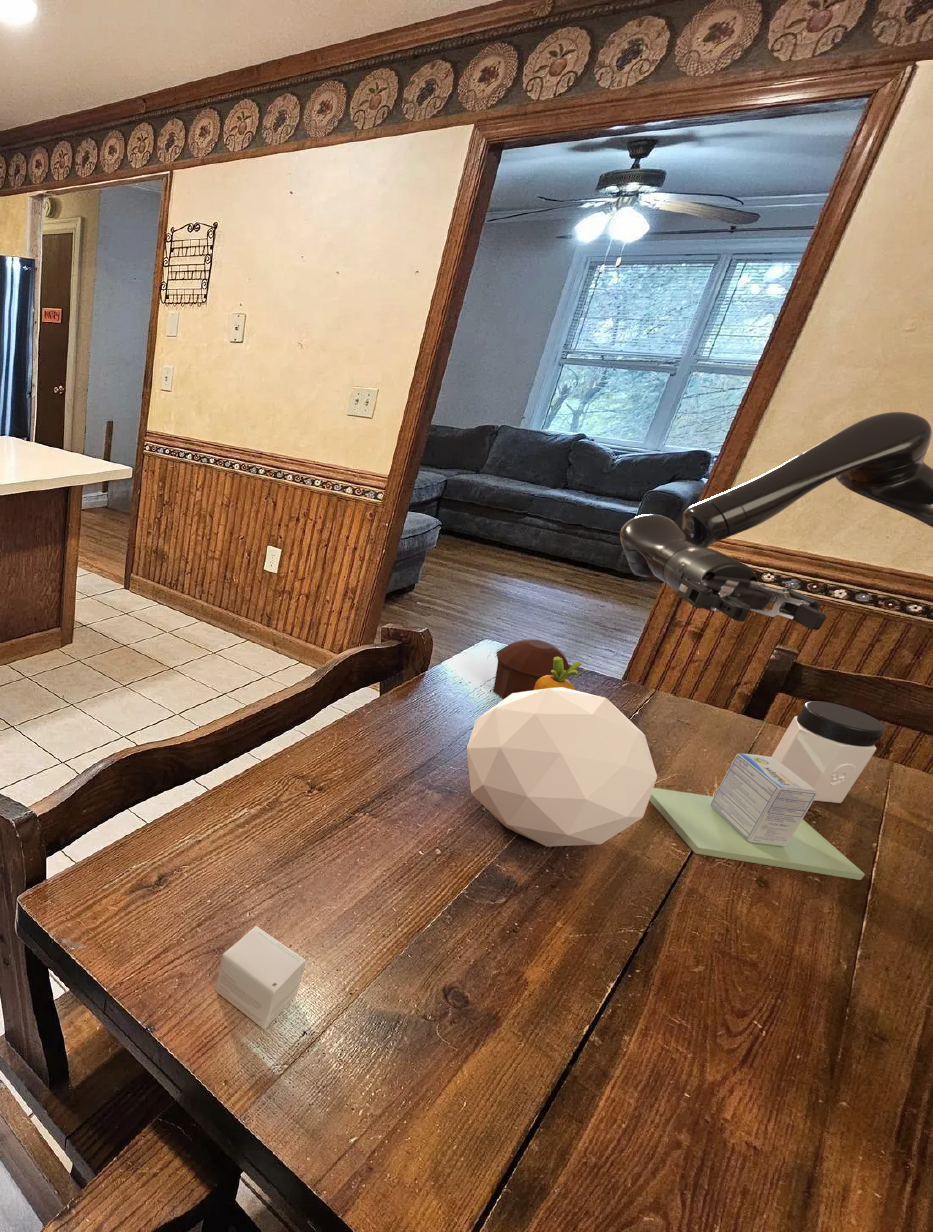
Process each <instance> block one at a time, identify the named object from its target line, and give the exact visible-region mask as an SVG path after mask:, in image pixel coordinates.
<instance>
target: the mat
mask: <svg viewBox="0 0 933 1232" xmlns="http://www.w3.org/2000/svg"><path fill="white" fill-rule="evenodd" d="M713 798H714V796H711V795H705V794H698V793H691V792H685V791H677V790H671V789H665V788H660V787H659V788H658V787H654V788H653V790H652V793H651V796H650V799H649V802H650V803H651V804H652V806H654V808H655V809H656V810H657V811H658V813H660V815H661V816H662V817H663V818H664V819H665V820H666V822H667V823H668V825H670V826H671V827H672V829H673V830H674V831H675V832H676V833H677V835H679V837H680V838H681V839H682V840H683V842H684V843H685V844H686V845H687V846H688V847H689V848H690V850H691V851H692V852H693V853H694V854H696V855H701V856H708V857H714V858H720V859H727V860H734V861H739V862H745V863H751V864H758V865H763V866H764V865H765V866H769V867H770V866H771V867H777V868H781V869H790V870H794V871H802V872H808V873H813V874H818V875H819V874H820V875H826V876H833V877H838V878H844V879H849V880H850V879H851V880H856V881H857V880H858V881H861V880H863V878H864V877H865V875H866V874H865V873H864V872H863V871H862V870H861V869H860V868H859V867H858V866H857V865H855V864H854V863H853V862H852V861H851V860H850V859H848V858H847V857H846V856H845V855H844V854H843V853H842V852H841V851H840V850H838V849H837V848H836V847H835V846H834V845H833V844H832V843H830V841H828V840H827V839H826V838H825V837H823V836H822V835H821V834H820V833H819V832H818V831H817V830H816V829H815V828H813V827H812V826H811V824H809V823H808V822H807V821H805V819H804V818H803V819H802V821H801V823H800V824H799V826H798V828H797V829H796V831H795V833H794V834H793V836H792V838H791V839H790V841H789V843H788V845H787V846H786V847H785V846H783V847H782V846H775V845H766V844H758V843H752V842H749V841H748V840H747V839H746V838H745V837H744V836H743V835H742V834H741V833H739V832H738V831H737V830H736V829H735V828H734V827H733V826H732V825H731V824H730V823H729V822H728V821H727V820H726V819H725V818H724V817H723V816H722V815H720V814H719V813H718V812H717V811H716V810H715V809H714V808H713V807H712V806H711V805H710V804H711V802H712V800H713Z"/></svg>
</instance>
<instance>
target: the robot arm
mask: <svg viewBox="0 0 933 1232" xmlns="http://www.w3.org/2000/svg"><path fill="white" fill-rule="evenodd" d="M932 434H933V431H932V425H931V423H930V422H929V421H928V420H927V419H926V418H925V417H923V416H921V415H918V414H915V413H911V412H904V411H890V412H883V413H880V414H876V415H872V416H868V417H866V418H863V419H862V420H859V421H857V422H855V423H853V424H852V425H849V426H848V427H845V428H844V429H843V430H840V431H839V432H837V433H836V434H833V435H832V436H830V437H829V438H827V439H825V440H823V441H821V442H820V443H818V444H816V445H814V446H813V447H811V448H809V449H807V450H805V451H803V452H802V453H800V454H798V455H796V456H795V457H793V458H791V459H789V460H788V461H786V462H784V463H783V464H781V465H779V466H777V467H775V468H772V469H771V470H769V471H767V472H766V473H763V474H761V475H759V476H758V477H755V478H753V479H751V480H749V481H747V482H744V483H742V484H740V485H738V486H736V487H733V488H731V489H728V490H726V491H724V492H721V493H719V494H716V495H714V496H711V497H710V498H707V499H704V500H702V501H699V502H697V503H695V504H692V505H690V506H689V507H687V508H686V509H685V510H684V511H683V514H682V517H681V519H682V520H681V527H680V526H679V525H678V524H677V523H676V522H675V521H674V520H672V519H671V518H669V517H667V516H664V515H661V514H655V513H653V514H651V513H650V514H641V515H638V516H635V517H633V518H631V519H629V520H628V521H626V522H625V523H624V524H623V526H622V527H621V529H620V531H619V541H620V544H621V546H622V549H623V552H624V555H625V558H626V561H627V563H628V567H629V568H630V570H631V572H632V573H634V575H636V576H639V577H641V578H642V577H643V578H657V579H658V580H660V581H662V582H664V583H665V584H667V585H668V586H670V587H671V588H672V589H673V590H674V591H675V592H676V595H677V597H679V598H681V599H683V600H684V601H685V602H687V603H689V604H690V605H691V606H693V607H694V608H696V609H704V610H706V611H709V612H710V611H711V612H716V613H718V612H719V613H722V614H724V615H726V616H727V617H729V618H731V619H732V620H734V621H735V622H742V623H743V622H745V621H746V619H747V617H748V615H749V614H750V612H753V613H757V614H761V615H764V616H767V617H771V618H775V617H778V616H779V617H783V618H786V619H789V620H792V621H794V622H796V623H798V624H799V625H801V626H803V627H805V628H807V629H809V630H814V631H818V630H820V629H821V628H822V626H823V624H824V623H825V621H826V619H827V615H826V614H825V613H823V612H822V611H820V608H821V606H822V605H823V603H822V602H820V601H818V600H815V599H813V598H811V597H809V596H807V595H806V594H802V593H801V592H798V591H796V590H793V589H792V588H789V587H786V588H785V587H783V588H782V590H780V589H776V588H772V587H769V586H767V585H766V584H765V583H761V582H759V581H758V578H757V575H756V573H755V571H754V570H753V569H752V568H751V567H750V566H749V565H747V564H745V563H743V562H742V561H739V560H737V559H736V558H733V557H731V556H729V555H727V554H725V553H722V552H721V551H719V550H716V549H712V548H710V547H711V546H713V545H714V544H716V543H718V542H720V541H723V540H725V539H728V538H731V537H732V536H736V535H738V534H740V533H743V532H746V531H747V530H750V529H753V528H754V527H757V526H759V525H761V524H763V523H765V522H766V521H768V520H770V519H772V518H774V517H775V516H777V515H778V514H780V513H781V512H783V511H784V510H786V509H787V508H788V507H790V506H791V505H793V504H794V503H796V502H797V501H798V500H800V499H801V498H803V497H804V496H806V495H807V494H809V493H811V492H812V491H813V490H815V489H817V488H818V487H820V486H822V485H823V484H825V483H827V482H829V481H831V480H834V479H835V478H836V480H837V481H838V483H839V484H841V485H842V486H843V487H844V488H846V489H847V490H849V491H851V492H853V493H855V494H858V495H860V496H862V497H864V498H867V499H869V500H871V501H874V502H876V503H878V504H881V505H883V506H885V507H888V508H890V509H893V510H895V511H898V512H901V513H902V514H905V515H907V516H909V517H911V518H913V519H916V520H917V521H920V522H922V523H923V524H925V525H927V526H929V527H930V528H933V467H931V466H929V465H928V464H927V463H926V462H925V461H924V460H925V458H926V455H927V452H928V449H929V448H930V444H931V439H932ZM770 601H771V602H774V603H773V605H772V608H771V609H767V608H766V607H767V606H768V604H769V602H770Z"/></svg>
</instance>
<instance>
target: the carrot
mask: <svg viewBox="0 0 933 1232" xmlns="http://www.w3.org/2000/svg"><path fill="white" fill-rule="evenodd" d="M582 664H583V663H582V662H580V661H576V662H574V663H573V664H572V665H571V666H570V668H569V669H568V670H567V671H566V670H564V665H563V660H562V658H560V657H554V661H553V668H554V670H551V672H552V674H553V676H552V675H545V676H543V677H541V678H540V679H538V680H537V682H536V684H535V686H534V689H533V690H540V689H547V688H559V687H563V688H567V689H571V690H575V691H576V688H575V686H574V684H572V683H571V681H569V680H568V678H569V677H572V676H574V675H578V674H579V671H578V670H577V669H578V668H579V667H580V666H581V665H582Z"/></svg>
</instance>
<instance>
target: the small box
mask: <svg viewBox="0 0 933 1232" xmlns="http://www.w3.org/2000/svg"><path fill="white" fill-rule="evenodd" d="M306 963H307V961H306V959H305V958H304V957H302V956H300V954H297V953H296V952H295V951H293V950H292V949H290V948H289V947H287V946H286V945H284V944H283V943H281V942H280V941H279V940H277V939H276V938H275V937H273V936H272V935H270V934H268V932H266V931H264V930H263V929H261V928H260V927H259V926H258V925H254V927H253V928H251V929H250V930H249V931H248V932H247V933H246V934H245V935H244V936H242V937H241V938H240V939H239V940H238V941H236V942H235V943H234V944H233V945H232V946H231V947H229V948H228V949H227V950H226V951H224V952H223V953H222V955H221V959H220V964H219V968H218V973H217V978H216V983H215V987H214V991H215V992H216V993H217V994H219V995H220V996H221V997H222V998H224V999H225V1000H226V1001H228V1002H229V1003H230V1004H231V1005H232V1006H234V1007H235V1008H236V1009H237V1010H238V1011H240V1012H241V1013H242V1014H244V1015H245V1016H246V1017H248V1018H249V1019H250V1020H251V1021H253V1022H254V1023H255V1024H256V1025H258V1026H259V1027H260V1028H261V1029H262V1030H266V1029H267V1028H268V1027H269V1026H270V1025H271V1024H272V1023H273V1022H274V1021H275V1019H277V1017H278V1016H279V1015H280V1014H281V1013H282V1012H283V1011H284V1009H286V1008H287V1006H289V1005H290V1003H291V1002H293V1000H294V999H295V998H296V997H297V996H298V992H299V989H300V985H301V981H302V978H303V974H304V970H305V966H306Z"/></svg>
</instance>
